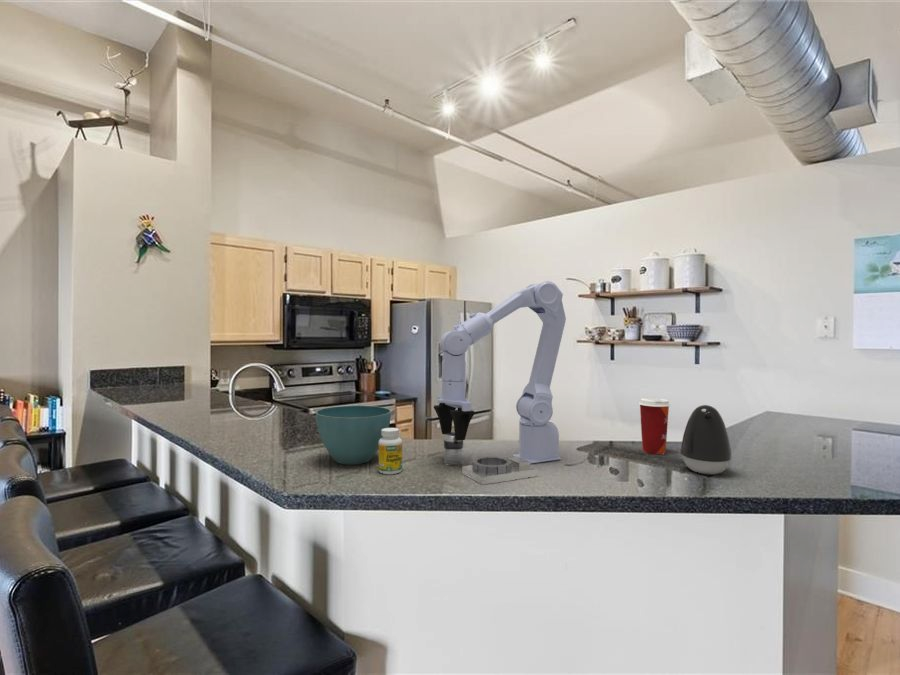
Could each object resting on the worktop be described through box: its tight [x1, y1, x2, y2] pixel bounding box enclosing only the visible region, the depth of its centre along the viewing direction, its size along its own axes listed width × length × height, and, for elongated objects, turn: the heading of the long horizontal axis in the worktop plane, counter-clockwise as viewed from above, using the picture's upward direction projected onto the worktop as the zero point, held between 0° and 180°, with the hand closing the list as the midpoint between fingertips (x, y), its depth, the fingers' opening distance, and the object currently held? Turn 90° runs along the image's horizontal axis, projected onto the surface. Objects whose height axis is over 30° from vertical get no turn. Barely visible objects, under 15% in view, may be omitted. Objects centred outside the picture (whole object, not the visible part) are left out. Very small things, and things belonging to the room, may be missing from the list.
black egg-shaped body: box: [680, 404, 732, 476], centre depth 111 cm, size 10×10×15 cm
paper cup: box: [638, 397, 671, 455], centre depth 129 cm, size 8×8×14 cm
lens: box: [443, 431, 464, 466], centre depth 117 cm, size 5×5×7 cm
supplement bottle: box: [378, 427, 403, 475], centre depth 110 cm, size 5×5×10 cm
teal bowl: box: [315, 405, 392, 465], centre depth 120 cm, size 18×18×12 cm
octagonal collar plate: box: [461, 456, 539, 486], centre depth 108 cm, size 14×9×3 cm, turn 116°
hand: (453, 436), depth 117 cm, fingers open, 7 cm apart
